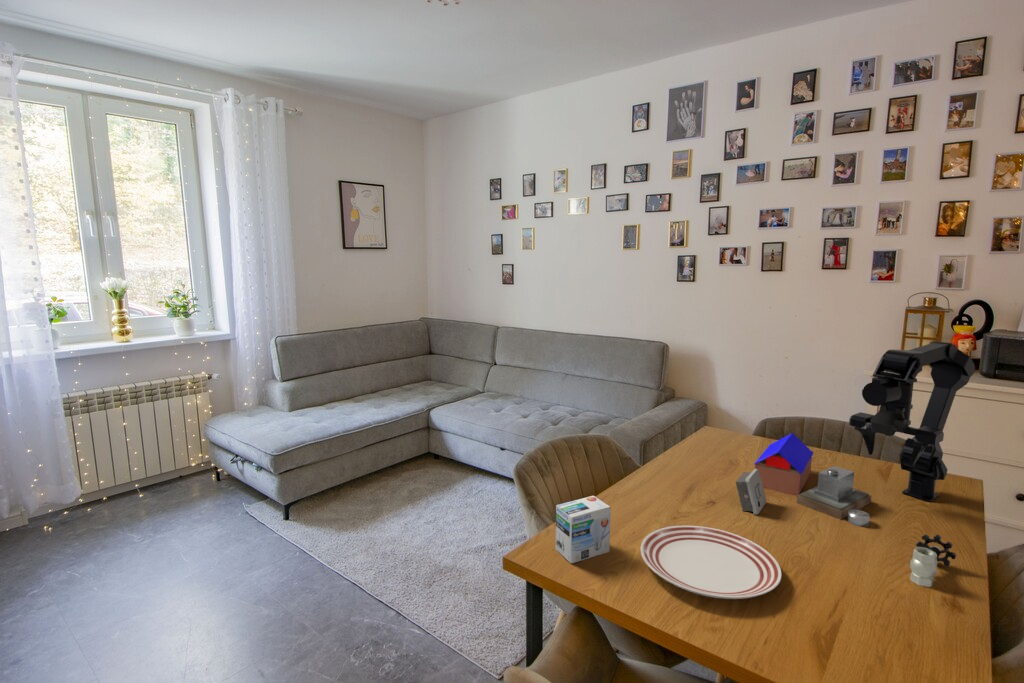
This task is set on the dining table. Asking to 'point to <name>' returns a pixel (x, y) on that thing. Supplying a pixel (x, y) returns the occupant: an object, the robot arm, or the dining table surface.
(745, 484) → the electrical switch
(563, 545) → the white box
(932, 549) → the valve
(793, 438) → the house
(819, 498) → the stand
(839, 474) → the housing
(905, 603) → the dining table surface
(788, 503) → the dining table surface
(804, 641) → the dining table surface
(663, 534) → the dinner plate
